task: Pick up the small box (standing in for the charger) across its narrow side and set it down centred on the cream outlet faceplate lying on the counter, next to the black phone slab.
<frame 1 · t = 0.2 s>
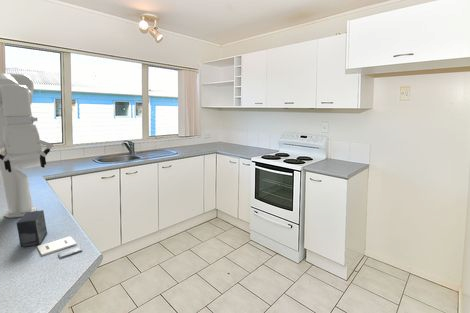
hand: (26, 169, 99), 30 cm above the counter, fingers open, 9 cm apart
phone: (70, 254, 99), on the counter
small box: (34, 241, 108), on the counter
outlet plate: (57, 246, 104), on the counter
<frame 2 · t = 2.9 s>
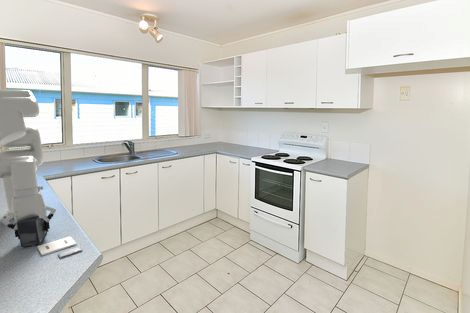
hand: (33, 234, 108), 3 cm above the counter, fingers closed on small box, 8 cm apart
small box: (34, 241, 108), on the counter, touching gripper
everything else where it was.
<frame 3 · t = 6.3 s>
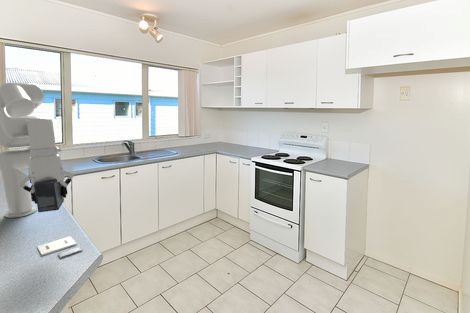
hand: (50, 199, 100), 19 cm above the counter, fingers closed on small box, 8 cm apart
small box: (51, 206, 101), point 16 cm above the counter, touching gripper
everything else where it was.
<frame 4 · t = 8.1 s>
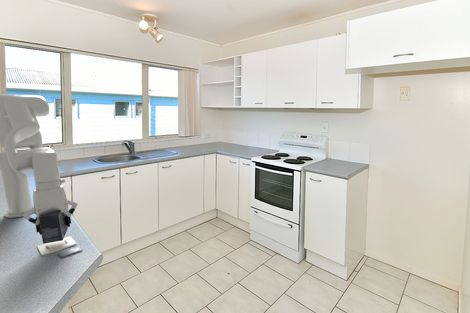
hand: (54, 229, 102), 7 cm above the counter, fingers closed on small box, 8 cm apart
small box: (55, 236, 103), point 4 cm above the counter, touching gripper
everything else where it was.
when the fingers open (5 cm above the counter, at t = 9.7 s): small box drops 1 cm, resting on outlet plate.
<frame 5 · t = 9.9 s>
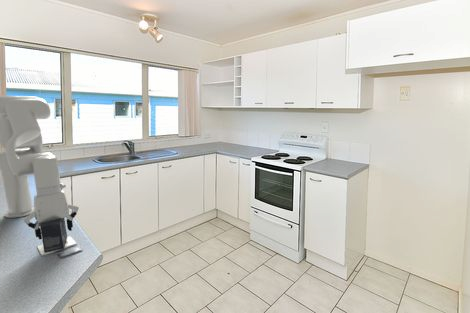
hand: (55, 233, 103), 5 cm above the counter, fingers open, 9 cm apart
small box: (56, 244, 104), point 1 cm above the counter, touching outlet plate
everything else where it was.
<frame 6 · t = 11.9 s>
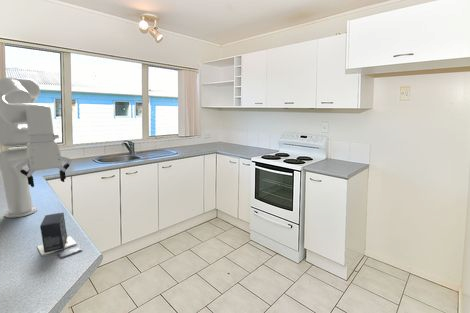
hand: (47, 183, 104), 23 cm above the counter, fingers open, 9 cm apart
nothing on the counter moved.
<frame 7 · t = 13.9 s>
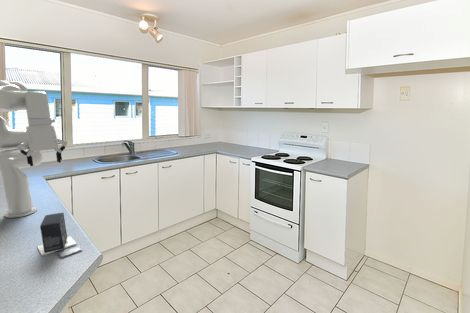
hand: (45, 163, 115), 28 cm above the counter, fingers open, 9 cm apart
nothing on the counter moved.
at the end: small box 0.4 cm off-centre on the outlet plate, point 0.5 cm above the outlet plate's base; small box tilted 0°; the gripper is holding nothing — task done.
